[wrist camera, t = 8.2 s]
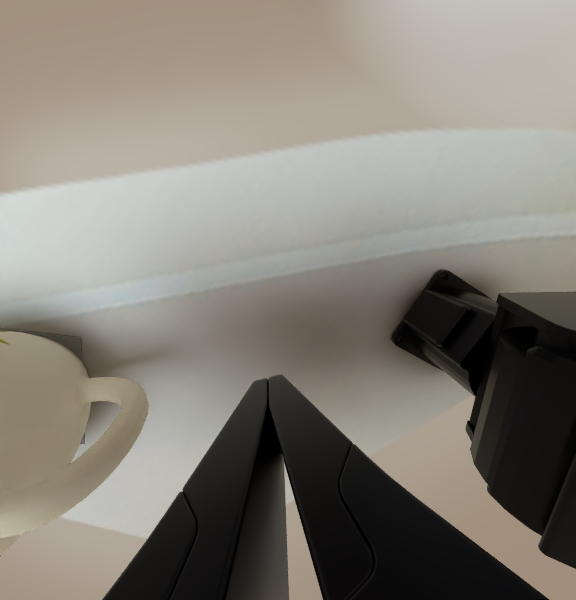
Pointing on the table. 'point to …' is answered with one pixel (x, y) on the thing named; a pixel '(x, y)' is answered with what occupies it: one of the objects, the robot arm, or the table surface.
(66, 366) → the pitcher
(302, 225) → the table surface
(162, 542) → the robot arm
